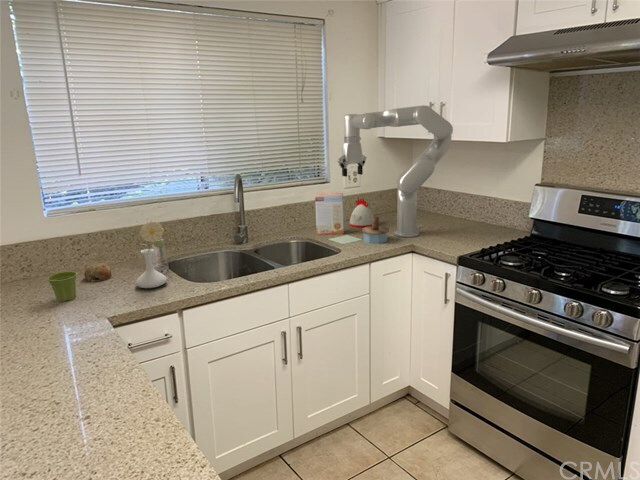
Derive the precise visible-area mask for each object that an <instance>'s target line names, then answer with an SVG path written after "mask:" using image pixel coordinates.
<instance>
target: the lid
mask: <svg viewBox="0 0 640 480" xmlns="http://www.w3.org/2000/svg"><path fill="white" fill-rule="evenodd" d="M389 232H390V229H389V228H388V227H386V226H381V225H380V217H379V216H374V217H372V226H370V227H365V228H361V233H366V234H385V233H387V234H388V233H389Z"/></svg>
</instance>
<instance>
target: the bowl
mask: <svg viewBox="0 0 640 480" xmlns="http://www.w3.org/2000/svg"><path fill="white" fill-rule="evenodd" d="M362 233H363V232H362ZM363 242H364V243H368V244H384V243H387V242H388V233H385V234H366V233H363Z"/></svg>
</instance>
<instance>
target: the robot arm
mask: <svg viewBox="0 0 640 480" xmlns="http://www.w3.org/2000/svg"><path fill="white" fill-rule="evenodd" d="M416 125H420V126H422V127H423V128H425V130H427V131H428V132H429V133H431V134H432V135H433V139H432V141H431V143H430V144H429V145H428V146H427V147H426V148H425V150H424V151H423V152H422V153H421V154H420V155H418V156H417V158H415V160H414V162H413V165H412V166H411V167H410V168H409V169H408V170H407V171H403V172H402V173H400V174H399V175H398V178H397V181H396V183H397V185H396V186H397V188H396V189H397V197H396V198H397V202H396V203H397V204H396V205H397V207H396V208H397V210H396V213H397V214H396V215H397V216H396V230H394V231H393V235H394V236H396V237H400V238H414V237H417V236H419V235H420V232H419V229H423V224H417V211H418V210H417V208H418V189H420V188H421V186H423V185H424V183H426V182H427V180H428V179H429V178H430V177H431V176H432V175H433V174H434V171H435V168H436V165H437V163H439V162H440V161H441V160H442V158H444V156H445V155H446V154H447V153H448V151H449V149H450V148H451V143H452V135H453V131H454V127H453V125H452V123H451V122H450V121H448V120H447V119H445V118H444V117H443V116H442V115H440V114H439V113H438V112H436V111H435V110H434V109H432V107H430V106H429V105H426V104H425V105H424V104H423V105H415V106H406V107H398V108H392V109H388V110H382V111H375V112H374V111H373V112H372V111H371V112H365V113H361V114H358V113H347V114H345V115H343V133H344V134H343V135H344V136H343V137H344V139H343V143H342V146H341V157H339V158H337V162H338V166H340V168H341V175H342V177H348V166H349V165H353V164H354V165H355V164H357V175H360V176H361V175H363V170H364V169H363V167H364V165H365V164H366V161H367V156H365V155H364V154H363V149H362V144H361V139H362V138H361V135H360V133H361V132H360V131H361V130H371V129H375V128H385V127H392V128H398V127H407V126H416Z"/></svg>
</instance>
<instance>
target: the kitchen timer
mask: <svg viewBox="0 0 640 480" xmlns="http://www.w3.org/2000/svg"><path fill="white" fill-rule="evenodd" d="M355 204H356V207H355V208H353V211H352V213H351V215H350V219H349V226H350V227H352V228H356V229H357V228H358V229H359V228H360V229H363V228H365V227H370V226H372V217H375V216H374V214H373V211H372V210H371V208H370V207H369V203H367V200H365V199H364V198H359V197H358V198H357V199H355Z"/></svg>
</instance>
